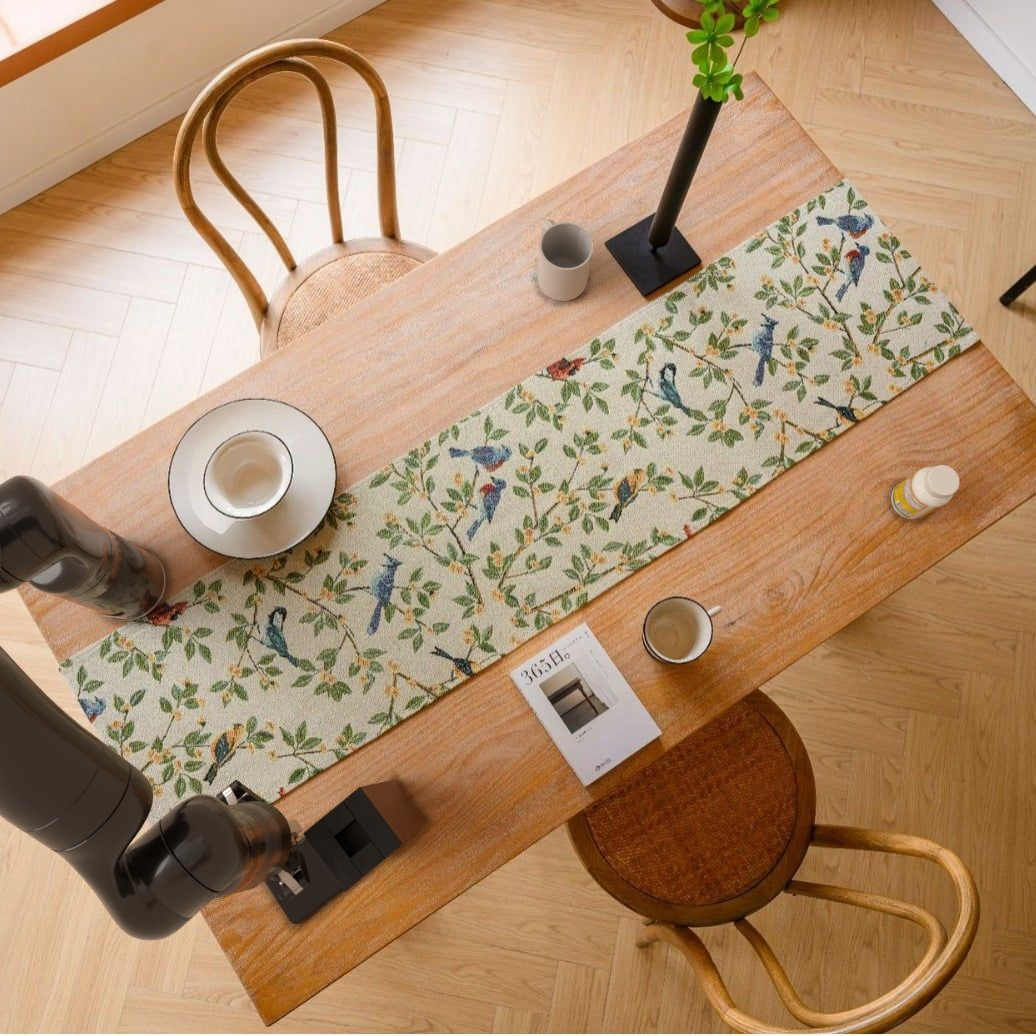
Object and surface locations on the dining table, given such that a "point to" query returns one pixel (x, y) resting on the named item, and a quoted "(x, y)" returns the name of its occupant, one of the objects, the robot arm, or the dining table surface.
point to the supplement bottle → (925, 491)
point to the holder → (364, 830)
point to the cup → (563, 259)
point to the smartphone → (308, 887)
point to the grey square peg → (295, 826)
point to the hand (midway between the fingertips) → (283, 831)
